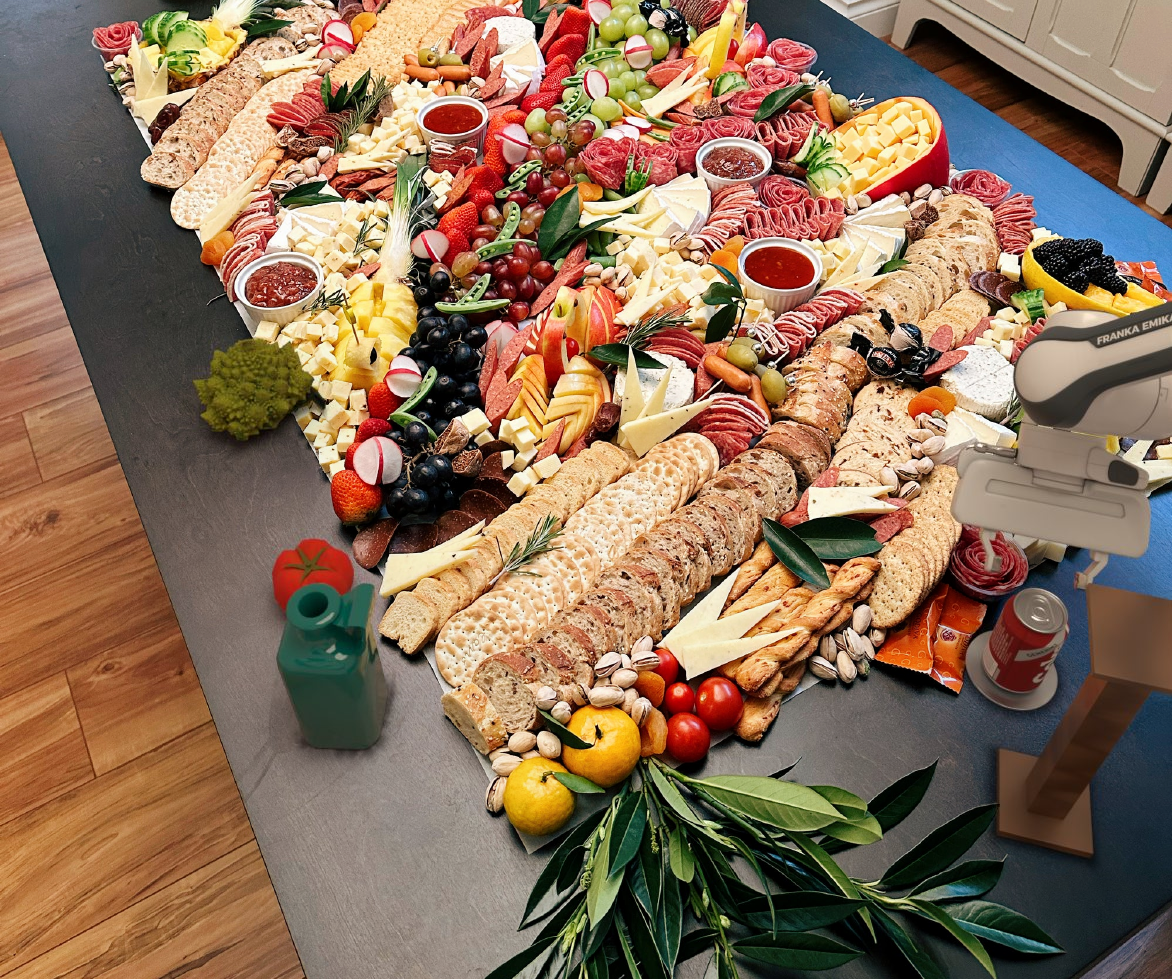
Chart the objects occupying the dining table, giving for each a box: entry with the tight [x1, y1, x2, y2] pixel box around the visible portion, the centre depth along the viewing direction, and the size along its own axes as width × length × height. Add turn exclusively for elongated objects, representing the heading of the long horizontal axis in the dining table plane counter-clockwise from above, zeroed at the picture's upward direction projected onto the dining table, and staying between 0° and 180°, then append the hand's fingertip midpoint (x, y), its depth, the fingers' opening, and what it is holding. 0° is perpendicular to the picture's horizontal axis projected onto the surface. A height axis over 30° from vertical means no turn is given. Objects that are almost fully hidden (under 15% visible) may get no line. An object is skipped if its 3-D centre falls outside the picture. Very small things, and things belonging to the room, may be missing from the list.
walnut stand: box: [996, 582, 1172, 859], centre depth 105 cm, size 9×9×32 cm
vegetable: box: [192, 337, 328, 442], centre depth 153 cm, size 15×16×15 cm
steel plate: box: [964, 630, 1059, 712], centre depth 127 cm, size 10×10×1 cm
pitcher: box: [275, 582, 389, 750], centre depth 116 cm, size 10×8×22 cm
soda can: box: [982, 587, 1070, 693], centre depth 122 cm, size 7×7×12 cm
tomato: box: [271, 537, 355, 614], centre depth 132 cm, size 9×9×8 cm
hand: (1036, 580), depth 122 cm, fingers open, 8 cm apart
